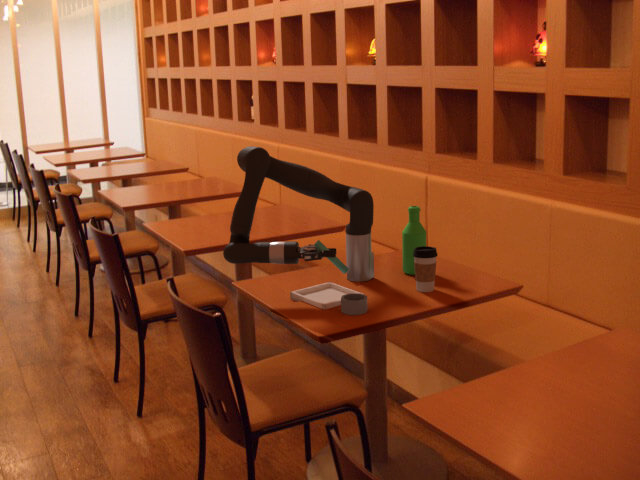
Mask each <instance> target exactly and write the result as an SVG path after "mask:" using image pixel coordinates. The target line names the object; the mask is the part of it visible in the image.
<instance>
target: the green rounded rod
mask: <svg viewBox="0 0 640 480" xmlns="http://www.w3.org/2000/svg"><path fill="white" fill-rule="evenodd" d="M313 245H314V246H315V247H316V248H317V249H318V250H324V251H325V250H329V249H328V248H329V247H327V246H326V245H325V244H324V243H323V242H322V241H321V240H320V239H318V240H317V241H316V242H315V243H314V244H313ZM326 259H327V260H329V261H330V262H331V264H332V265H334V266H335V267H336V268H337V269H338V270H339V271H340V272H341V273H342V274H343V275H345V274H347V271H348V270H349V268H348V267H347V264H345V263H344V262H343V261H341V259H339V258H338V257H337V256H336V257H326Z"/></svg>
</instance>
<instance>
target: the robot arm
mask: <svg viewBox="0 0 640 480" xmlns="http://www.w3.org/2000/svg"><path fill="white" fill-rule="evenodd" d="M236 160H237V161H236V162H237V165H238V166H239V168H240V169H241V170H242V171H243V172H244V182H243V185H242V188H241V191H240V194H239V196H238V199H237V201H236V203H235V205H234V208H233V211H232V216H231V221H230V227H229V231H230V232H229V233H230V238H229V241H228V244H227V245H226V246H225V247H224V249H223V252H222V254H223V258H224V260H226V262H228V263H229V264H234V265H236V264H237V265H239V264H252V263H254V264H255V263H256V264H274V265H275V264H276V265H298V264H299V263H300V259H301V260H304V262H311V261H313V262H314V261H320V260H322V259H325V258H327V257H337V248H336V247H327V248H328V249H329V250H325V251H324V250H318V249H317V248H316V247H315V246H314V244H308V245H304V246H301V247H300V244H299V242H298V241H296V240H295V241H293V240H291V241H287V240H286V241H278V240H277V241H267V242H266V241H262V242H261V241H259V242H254V243H253V242H252V243H251V242H250V234H251V231H252V226H253V222H254V217H255V212H256V207H257V204H258V201H259V196H260V193H261V190H262V188H263V184H264V182H265V179H269V180H271V181H274V182H276V183H277V184H279V185H281V186H283V187H285V188H286V189H287V188H288V189H290V190H292V191H295V192H296V193H299V194H301V195H304V196H307V197H310V198H314V199H316V200H317V199H318V200H322V201H323V200H324V201H327V202H330V203H332V204H334V205H336V206H338V207H339V208H342V209H344V211H347V212H348V213H349V223H347V224H346V225H345V254H346V255H345V257H346V266H347V267H348V268H349V270H348V271H347V272H346V280H348V281H351V282H355V283H357V282H359V283H361V282H368V281H370V280H372V279H373V278H375V253H374V252H373V250H372V249H373V248H372V227H373V226H374V225H373V224H374V209H375V208H374V207H375V206H374V199H373V196H372V194H371V193H370V192H369V191H367V190H364V189H363V188H359V187H356V186H355V187H354V186H350V185H346V184H343V183H340V182H337V181H334V180H333V179H331V178H329V177H328V176H327V175H325V174H323V173H321V172H319V171H317V170H314V169H312V168H309V167H308V166H306V165H305V166H304V165H301V164H298V163H294V162H290V161H286V160H281V159H278V158H277V157H276V158H275V157H274V156H271V155H270V153H269V151H268V150H266V149H265V148H263V147H260V146H254V145H253V146H246V147H244V148H242V149H241V150H240V151H239V152H238V153H237V157H236Z"/></svg>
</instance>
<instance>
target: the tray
mask: <svg viewBox="0 0 640 480" xmlns="http://www.w3.org/2000/svg"><path fill="white" fill-rule="evenodd" d="M350 293H361V294H364V295H366V294H365V293H362V292H359V291H357V290H354V289H351V288H348V287H346V286H342V285H339V284H338V283H334V282H332V281H329V282H323V283H320V284H316V285H312V286H308V287H304V288H300V289H296V290H292V291H289V295H290V296H289V297H290V298H289V299H290V300H292V301H295V302H297V303H299V302H303V303H306V304H308V305H311V306H314V307H315V308H319V309H322V311H323V310H324V311H325V310H328V309H331V308H335V307H338V306H341V297H342V295H346V294H350Z"/></svg>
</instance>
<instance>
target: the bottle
mask: <svg viewBox="0 0 640 480" xmlns="http://www.w3.org/2000/svg"><path fill="white" fill-rule="evenodd" d="M421 210H422V209H421V207H420V206H418V205H410V206H409V207H408V209H407V212H408V222H407V224H406V226H405V227H404V228H403V230H402V231H401V233H402V234H401V236H402V237H401V238H402V243H401V244H402V245H401V246H402V252H401V253H402V271H403V273H405V274H406V275H410V276H411V275H412V276H415V267H414V256H413V252H414V248H416V247H421V246H427V230H426V229H425V226H423V224H422V222H421V220H420V212H421Z"/></svg>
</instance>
